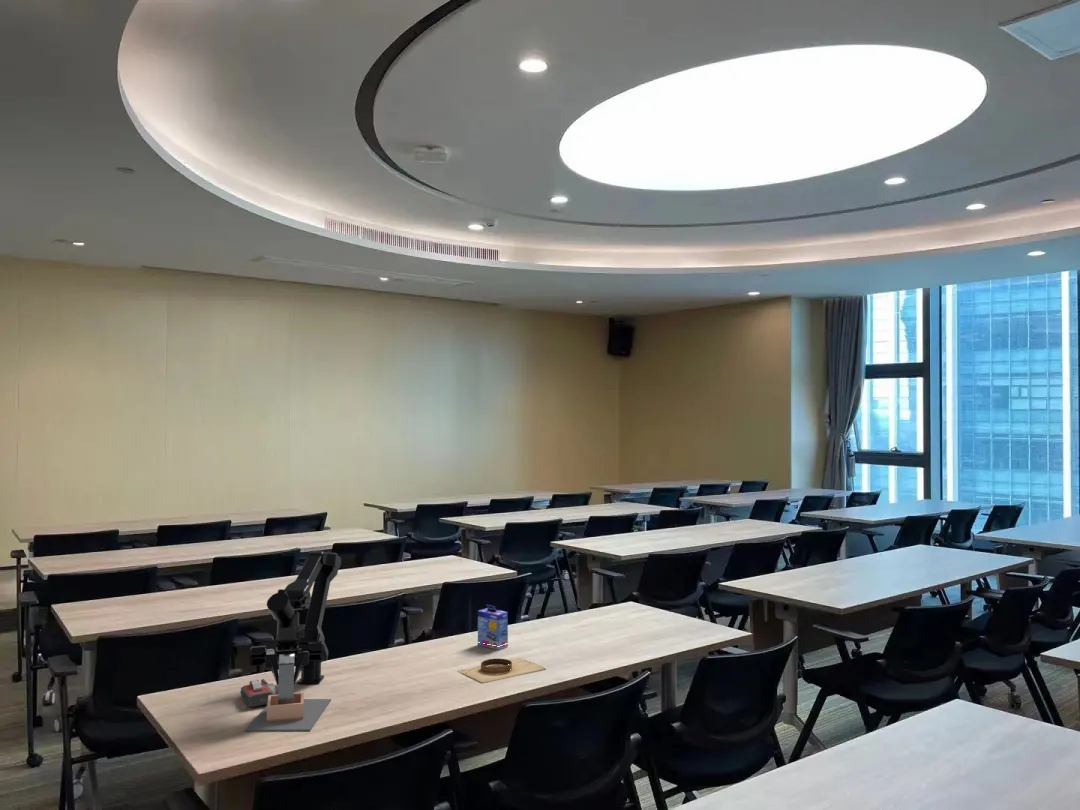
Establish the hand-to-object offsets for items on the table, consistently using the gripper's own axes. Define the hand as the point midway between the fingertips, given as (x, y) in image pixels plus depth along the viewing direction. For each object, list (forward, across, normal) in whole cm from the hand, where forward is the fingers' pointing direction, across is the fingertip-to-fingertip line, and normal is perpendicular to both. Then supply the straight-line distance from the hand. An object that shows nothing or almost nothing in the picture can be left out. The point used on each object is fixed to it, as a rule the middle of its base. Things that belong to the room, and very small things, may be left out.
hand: (286, 683), depth 200 cm
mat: (+5, +1, +8) cm, 9 cm away
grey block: (+4, 0, +6) cm, 7 cm away
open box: (+5, 0, +7) cm, 9 cm away
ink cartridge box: (-30, +67, +44) cm, 86 cm away
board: (-10, +64, +25) cm, 69 cm away
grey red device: (-7, -8, +20) cm, 22 cm away
